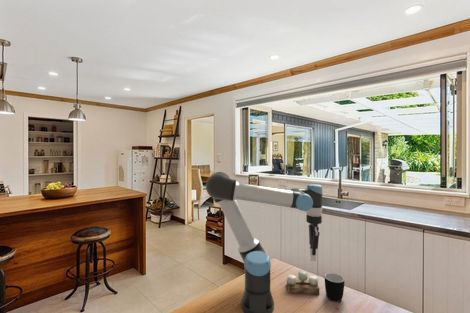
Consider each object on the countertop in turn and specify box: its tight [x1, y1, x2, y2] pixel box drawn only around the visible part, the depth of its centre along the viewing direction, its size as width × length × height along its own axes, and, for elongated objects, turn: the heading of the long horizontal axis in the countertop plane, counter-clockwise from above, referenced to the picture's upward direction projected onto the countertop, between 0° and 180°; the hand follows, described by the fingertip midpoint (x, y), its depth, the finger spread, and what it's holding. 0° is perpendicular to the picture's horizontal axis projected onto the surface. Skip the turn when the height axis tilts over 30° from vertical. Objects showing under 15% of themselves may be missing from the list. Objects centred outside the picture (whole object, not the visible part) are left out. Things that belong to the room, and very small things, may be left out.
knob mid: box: [297, 270, 308, 284], centre depth 129 cm, size 4×4×5 cm
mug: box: [324, 272, 345, 302], centre depth 123 cm, size 12×9×10 cm
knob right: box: [308, 275, 319, 286], centre depth 128 cm, size 4×4×5 cm
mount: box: [286, 278, 320, 295], centre depth 129 cm, size 15×8×3 cm, turn 86°
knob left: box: [286, 274, 297, 285], centre depth 129 cm, size 4×4×5 cm
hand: (313, 260), depth 128 cm, fingers closed
